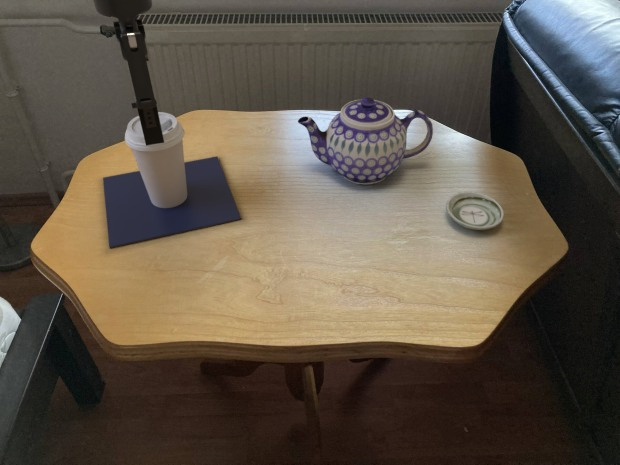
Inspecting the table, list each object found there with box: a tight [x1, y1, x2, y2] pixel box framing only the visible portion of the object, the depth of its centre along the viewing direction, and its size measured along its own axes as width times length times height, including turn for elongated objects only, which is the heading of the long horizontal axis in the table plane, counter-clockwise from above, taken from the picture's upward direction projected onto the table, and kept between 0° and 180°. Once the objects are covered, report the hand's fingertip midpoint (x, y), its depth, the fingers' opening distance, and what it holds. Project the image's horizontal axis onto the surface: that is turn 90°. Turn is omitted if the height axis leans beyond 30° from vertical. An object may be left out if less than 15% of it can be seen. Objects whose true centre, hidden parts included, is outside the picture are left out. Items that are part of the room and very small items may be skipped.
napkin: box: [102, 155, 242, 249], centre depth 93 cm, size 22×20×1 cm
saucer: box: [445, 191, 505, 231], centre depth 88 cm, size 10×10×2 cm
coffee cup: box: [124, 111, 187, 208], centre depth 88 cm, size 10×10×15 cm
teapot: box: [297, 96, 434, 185], centre depth 95 cm, size 25×15×15 cm, turn 91°
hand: (149, 121), depth 82 cm, fingers open, 13 cm apart
